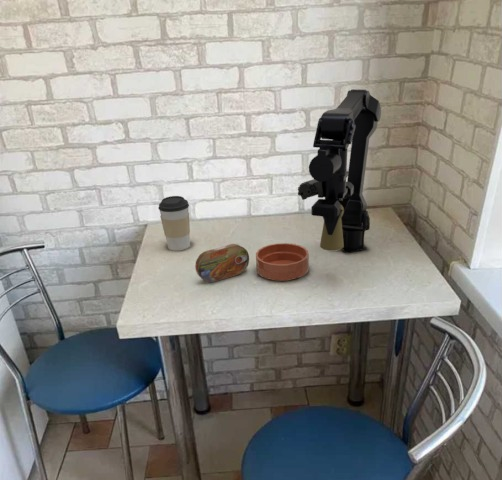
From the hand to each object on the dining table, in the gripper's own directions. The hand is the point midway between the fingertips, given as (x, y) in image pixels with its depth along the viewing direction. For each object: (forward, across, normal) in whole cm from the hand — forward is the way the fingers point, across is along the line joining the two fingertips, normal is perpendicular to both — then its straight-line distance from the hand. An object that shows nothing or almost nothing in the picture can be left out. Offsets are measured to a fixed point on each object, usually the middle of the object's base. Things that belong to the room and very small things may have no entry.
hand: (332, 231), depth 134 cm
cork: (+4, 0, 0) cm, 4 cm away
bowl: (+13, 0, -14) cm, 19 cm away
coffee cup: (+13, -8, -50) cm, 52 cm away
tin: (+13, +8, -28) cm, 32 cm away
